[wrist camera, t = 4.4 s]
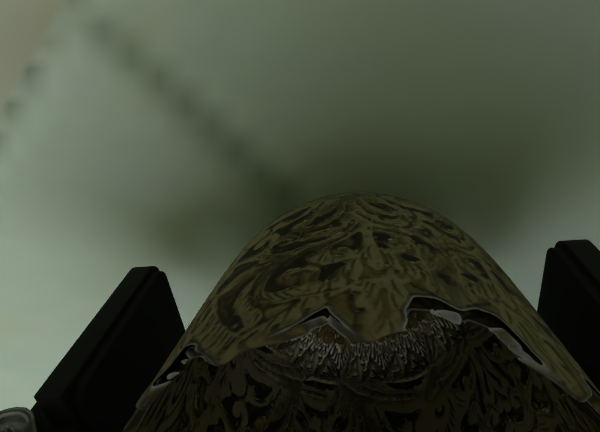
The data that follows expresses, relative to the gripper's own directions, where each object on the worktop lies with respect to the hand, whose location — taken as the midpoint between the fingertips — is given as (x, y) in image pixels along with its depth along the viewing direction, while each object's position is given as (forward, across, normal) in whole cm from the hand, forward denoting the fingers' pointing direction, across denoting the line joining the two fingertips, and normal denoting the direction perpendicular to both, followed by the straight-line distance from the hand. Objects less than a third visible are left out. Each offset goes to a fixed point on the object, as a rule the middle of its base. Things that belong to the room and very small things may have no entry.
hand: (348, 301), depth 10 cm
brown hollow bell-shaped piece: (+3, 0, 0) cm, 3 cm away
